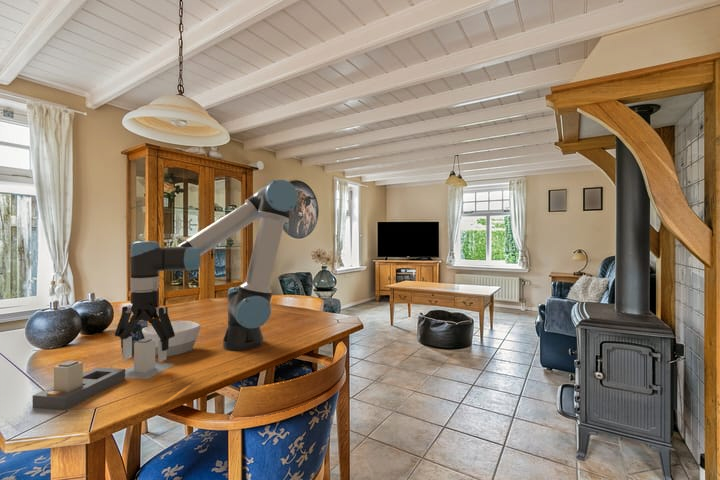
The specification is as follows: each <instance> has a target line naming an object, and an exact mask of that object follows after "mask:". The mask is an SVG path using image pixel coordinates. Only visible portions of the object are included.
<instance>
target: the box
mask: <svg viewBox="0 0 720 480" xmlns="http://www.w3.org/2000/svg"><path fill="white" fill-rule="evenodd" d="M129 322H130V321H128V323H129ZM148 323H149V322H148V321H144V320H140V321H139V322H138V323H137V325H136V326H135V328H134V329H133V331H132V332H131V334H130V335H131V336H128V337H132V353H134V343H135V342H137V341H139V340H142V339H145V338H144V335H143V333H142V329H143V328H145V327H148V326H149V324H148ZM127 325H128V324H127ZM121 349H122V348H121ZM121 353H122V354H123V349H122V350H121Z"/></svg>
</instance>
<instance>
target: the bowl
mask: <svg viewBox="0 0 720 480" xmlns="http://www.w3.org/2000/svg"><path fill="white" fill-rule="evenodd" d="M170 322H171V325H172V328H173V331H174V334H175V336H174V337H172V338H170V339H169V344H168V345H169V348H168V350H167V353H166V358H167V357H169V358H170V357H174V356H177V355H181V354H184V353H187V352H191V351H192V350H193V349H194V346H195V343H196V340H197V338H198V336H199V333H200V330H201V325H200V324H199V323H197V322H194V321H189V320H173V321H170ZM142 333H143V335H144V338H145V339H152V340H155V357H158V341H160V340H161V339H160V338H159V336H158V334H157V333H156V331H155V329H154V328H153V326H152V325H148V327H145V328H143V329H142Z"/></svg>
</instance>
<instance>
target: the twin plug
mask: <svg viewBox="0 0 720 480" xmlns="http://www.w3.org/2000/svg"><path fill="white" fill-rule="evenodd" d="M83 363H84V362H83V361H79V360H67V361H64V362H61V363H59V364H57V365H55V366H53V386H54V391H61V392H63V393H68V392H71V391H73V390H75V389H77V388H79V387H81V386H83V374H84V364H83Z"/></svg>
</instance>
